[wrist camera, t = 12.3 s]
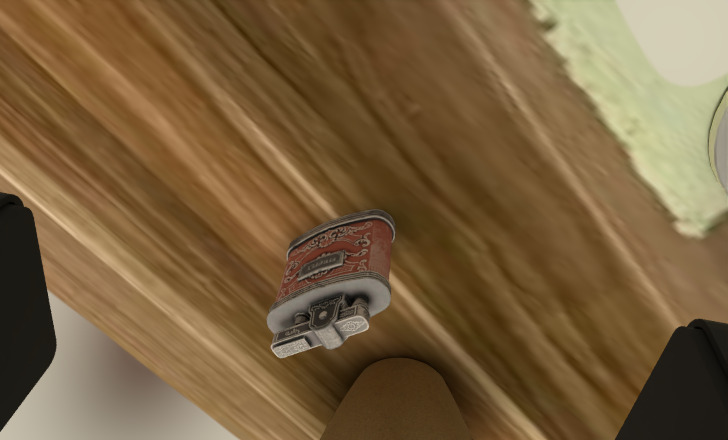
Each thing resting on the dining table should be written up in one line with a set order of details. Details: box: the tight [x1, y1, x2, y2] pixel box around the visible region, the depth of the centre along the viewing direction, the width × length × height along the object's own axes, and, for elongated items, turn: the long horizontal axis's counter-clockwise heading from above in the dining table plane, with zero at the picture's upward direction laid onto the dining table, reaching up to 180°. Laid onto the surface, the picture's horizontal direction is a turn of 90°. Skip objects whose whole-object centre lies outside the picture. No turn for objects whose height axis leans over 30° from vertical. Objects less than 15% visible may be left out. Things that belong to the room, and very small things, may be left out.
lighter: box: [267, 209, 395, 358], centre depth 39 cm, size 8×3×10 cm, turn 117°
